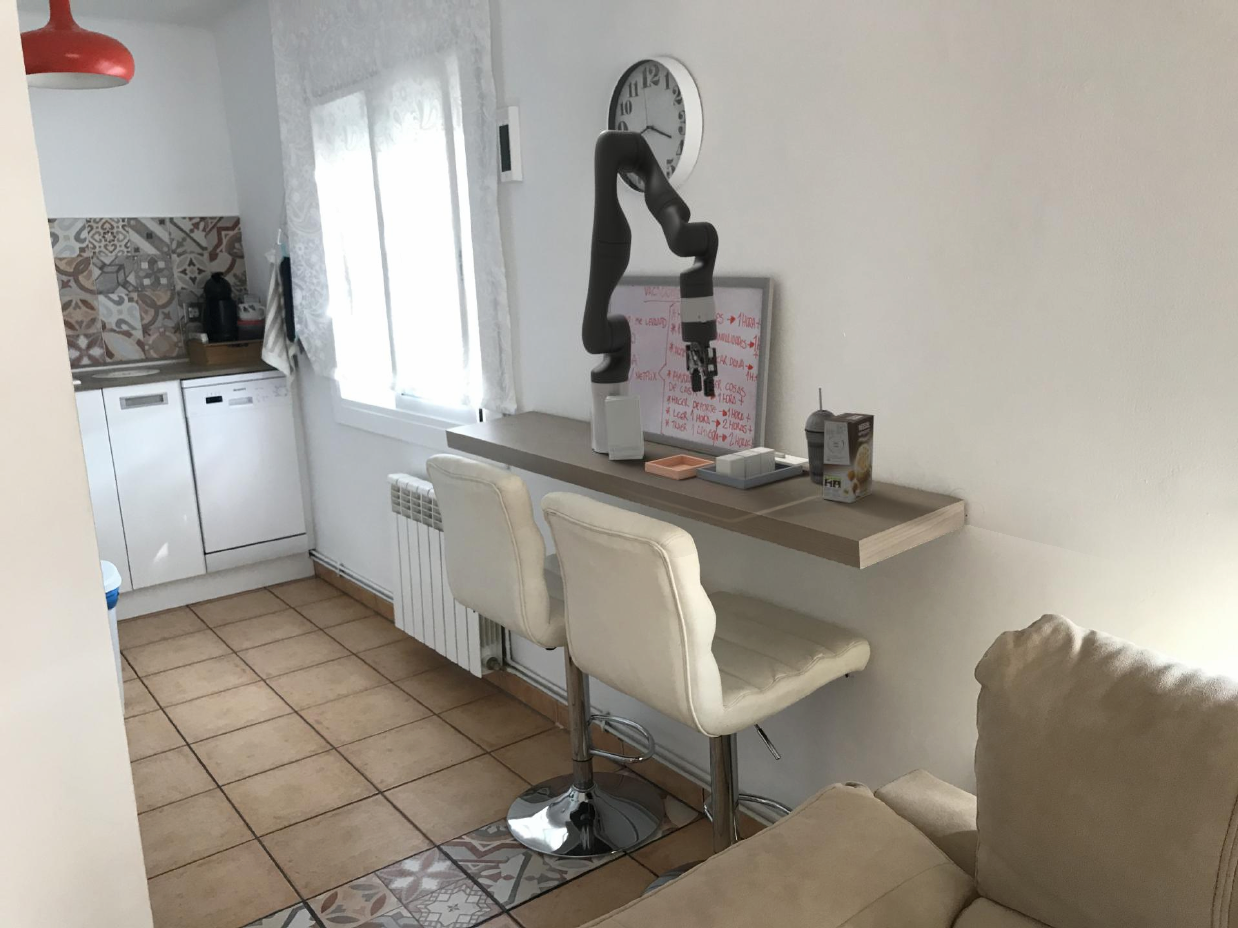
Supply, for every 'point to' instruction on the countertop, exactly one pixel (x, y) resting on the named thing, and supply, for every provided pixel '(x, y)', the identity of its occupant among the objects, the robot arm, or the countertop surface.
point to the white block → (730, 465)
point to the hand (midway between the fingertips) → (703, 394)
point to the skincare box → (624, 427)
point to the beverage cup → (816, 441)
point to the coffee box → (848, 457)
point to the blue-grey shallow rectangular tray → (783, 469)
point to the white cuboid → (750, 463)
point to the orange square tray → (677, 466)
